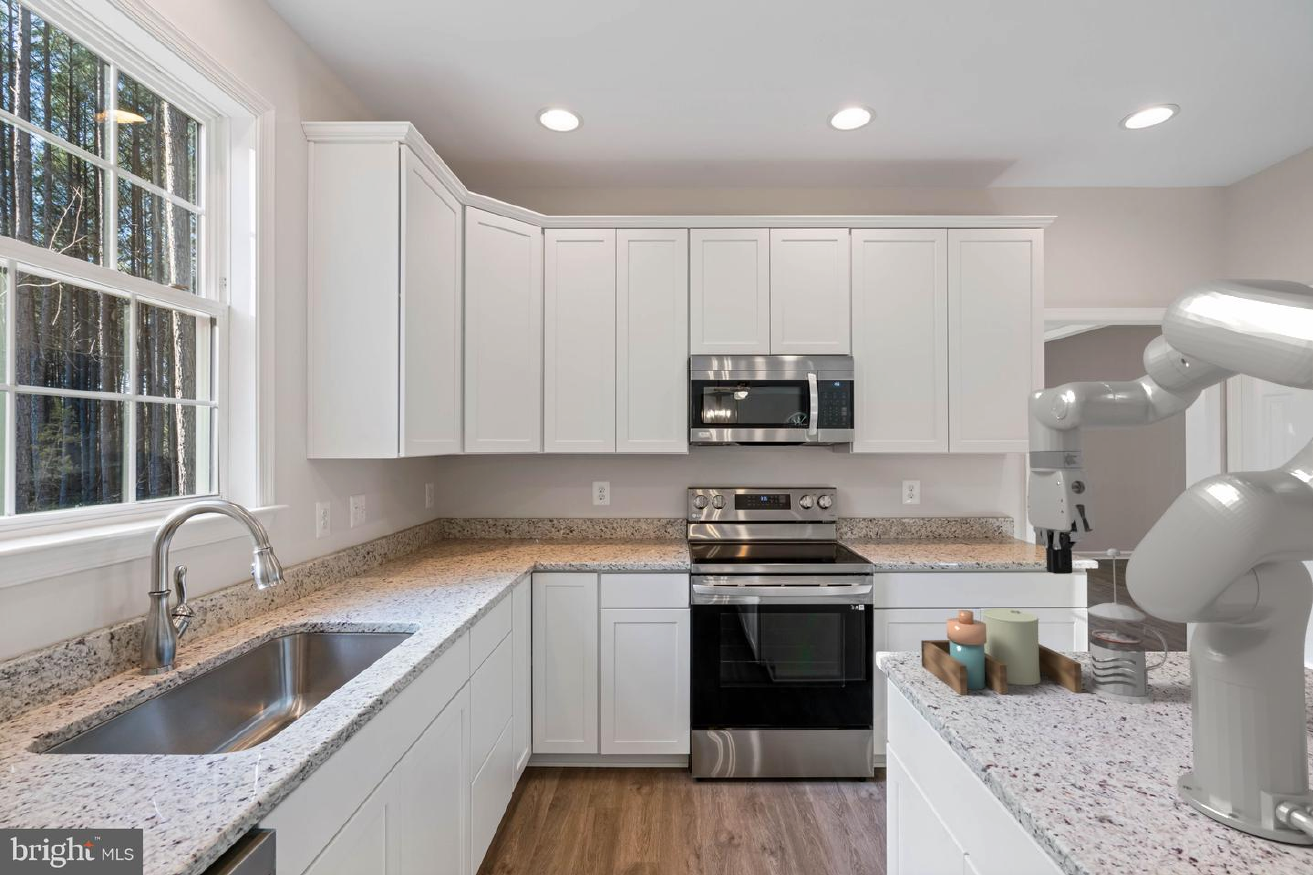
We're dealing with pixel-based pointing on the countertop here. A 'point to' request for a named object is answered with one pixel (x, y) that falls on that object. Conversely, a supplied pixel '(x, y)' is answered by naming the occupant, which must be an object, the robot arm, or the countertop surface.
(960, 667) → the caddy
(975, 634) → the lid
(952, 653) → the jar
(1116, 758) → the countertop surface
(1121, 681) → the french press
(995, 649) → the can
